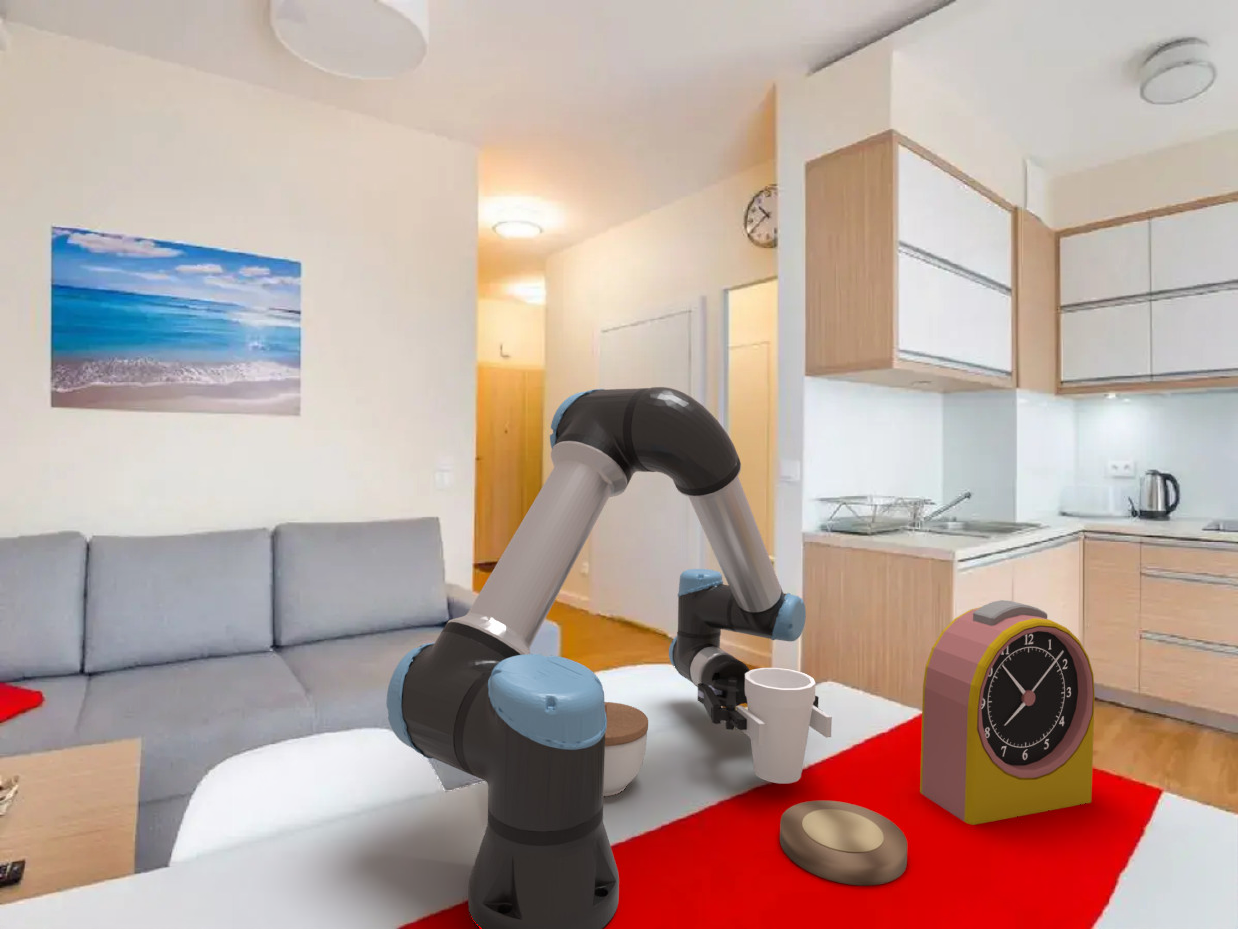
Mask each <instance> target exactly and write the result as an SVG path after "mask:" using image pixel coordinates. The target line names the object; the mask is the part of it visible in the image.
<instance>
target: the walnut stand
mask: <svg viewBox="0 0 1238 929" xmlns="http://www.w3.org/2000/svg"><path fill="white" fill-rule="evenodd" d="M779 823H780V824H779V826H780V827H779V842H780V843H779V844H780V846H781V848H782V851H783V852H784V853H785V854H786V856H787V857H788V858H789V859H790V860H791V862H793V863H795V864H796V865H797V866H799V868H802V869H803V870H805V871H807V872H809V873H811V874H812V875H815V876H817V877H820V878H822V879H825V880H829V881H830V882H831V881H832V882H835V883H840V884H845V885H852V886H878V885H882V884H887V883H889V882H890V883H891V882H892V881H895V880H896V879H898V878H900V877H901V876H902V875H903V874H904V872H905V871H906V868H907V863H908V840H907V837H906V836H905V834H904V832H903V831H902V830H901V828H899V826H897V825H896V824H895V823H894V822H893V821H891V820H890V819H889V818H887V817H885V816H883V815H882V814H880V813H878V812H875V811H873V810H870V809H869V808H867V807H864V806H860V805H857V804H851V803H848V802H843V801H837V800H811V801H805V802H804V801H803V802H800V803H797V804H794V805H791V807H788V808H787V809H786V810H785V811H783V813H782V815H781V818H780V822H779Z"/></svg>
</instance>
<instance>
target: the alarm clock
mask: <svg viewBox="0 0 1238 929" xmlns="http://www.w3.org/2000/svg"><path fill="white" fill-rule="evenodd" d="M1094 675H1095V674H1094V672H1093V668H1092V664H1091V661H1090V658H1089V655H1088V653H1087V651H1086V649H1085V648H1084V646H1083V645H1082V643H1081V641H1080V639H1079V638H1078V637H1077V636H1076V635H1075V634H1074V633H1073V632H1072V631H1070V629H1069V628H1067V627H1066V626H1063V625H1062V624H1060V623H1058V622H1055V621H1053V620H1051V619H1050V618H1049V619H1048V613H1047V612H1045V611H1044V610H1042V609H1041V608H1038V607H1035V606H1031V605H1028V604H1024V603H1021V602H1017V601H1012V600H1001V599H999V600H997V601H996V600H995V601H991V602H989V603H986V604H984V605H982V606H980V607H975V608H971V609H968V610H967V611H965V612H964V613H962V614H960V615H958V616H957V617H955V618H954V619H953V620H952V621H951V622H950V623H949V624H948V625H947V626H946V627H945V628H944V629H942V631H941V633H940V634H939V636H938V637H937V639H936V641H935V642H934V644H933V645H932V647H931V650H930V652H929V655H928V659H927V661H926V664H925V669H924V675H923V676H924V677H923V683H922V708H921V711H922V712H921V740H920V742H921V744H920V745H921V746H920V748H921V749H920V750H921V751H920V783H919V785H920V786H919V789H920V790H919V793H920V794H921V795H923V796H924V797H926V798H927V799H929V800H930V801H932V802H933V803H935V804H937V805H938V806H939V807H940V808H943V809H944V810H946V811H947V812H949V813H950V814H952V815H953V816H955V817H956V818H958V819H959V820H961V821H963V823H966V824H969V825H975V826H976V825H980V824H985V823H990V822H995V821H1000V820H1006V819H1012V818H1017V816H1018V817H1022V816H1028V815H1032V814H1039V813H1043V812H1049V811H1053V810H1054V811H1055V810H1059V809H1064V808H1065V809H1066V808H1070V807H1075V806H1079V805H1080V804H1081V805H1084V804H1085V803H1086V804H1091V803H1092V793H1093V792H1092V791H1093V790H1092V789H1093V788H1092V787H1093V762H1094V761H1093V760H1094V759H1093V758H1094V757H1093V756H1094V755H1093V754H1094V751H1093V750H1094V731H1095V727H1094V724H1095V701H1096V700H1095V696H1096V695H1095V677H1094ZM1048 810H1049V811H1048Z"/></svg>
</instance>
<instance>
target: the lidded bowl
mask: <svg viewBox="0 0 1238 929" xmlns="http://www.w3.org/2000/svg"><path fill="white" fill-rule="evenodd" d="M604 702H605V712H606V719H607V727H606V731H605V757H604V790H603V798H604V796H605V797H611V796H616V795H618V793H619V794H621V793H622V792H624V791H625V790H626V789H627V787H628V785H629V784H630V783H632V781H633V780H634V779H635V778H636V777H637V776H638V773H639V772H640V771H641V768H642V766H643V764H644V760H645V756H646V749H647V740H648V739H647V738H648V730H649V718H648V716H647V715H646V713H644V712H643V711H642V710H640V709H638V708H637V707H635V706H631V705H628V704H624V703H619V702H612V701H611V702H610V701H604ZM626 786H627V787H626ZM625 788H626V789H625ZM624 789H625V790H624ZM621 791H622V792H621ZM620 792H621V793H620ZM615 794H616V795H615Z"/></svg>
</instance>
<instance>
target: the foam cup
mask: <svg viewBox="0 0 1238 929" xmlns="http://www.w3.org/2000/svg"><path fill="white" fill-rule="evenodd" d="M749 670H750V669H749ZM745 696H746V697H747V704H746V705H747V710H748V711H749V712H750V713H752V714H753V715H754V716H756V717H757V718H758V719H759V720H761V721H762V722H763V723H765V727H764V744H762V745H758V744H757V743H756V742H755V741H754V740H752V739H751V738H750V744H751V745H750V746H751V753H752V765H753V773H754V775H755V776H757V777H758V778H759V779H761V780H764V781H766V782H769V783H770V782H771V783H775V784H792V783H796V782H798V781H799V780H801V778H802V773H803V766H804V761H805V754H806V749H807V748H806V747H807V744H808V743H807V742H808V737H809V736H808V735H809V731H810V726H809V725H810V719H811V713H812V707H813V702H814V701H815V696H816V681H815V679H814V677H812V676H810V675H809V674H806V673H804V672H801V671H797V670H794V669H788V668H781V667H760V668H754V669H751V670H750V671H748V672H747V673H745Z"/></svg>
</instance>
